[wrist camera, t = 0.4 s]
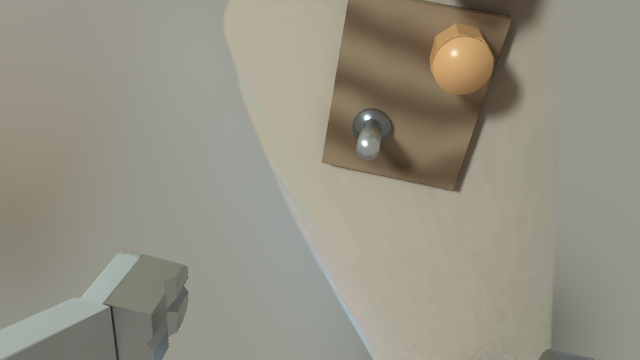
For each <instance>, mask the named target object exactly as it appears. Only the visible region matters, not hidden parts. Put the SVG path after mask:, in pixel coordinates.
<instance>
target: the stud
mask: <svg viewBox="0 0 640 360" xmlns="http://www.w3.org/2000/svg"><path fill="white" fill-rule="evenodd" d="M352 131H353V134H354V136H355V138H356V139H357V140H358V142H357V146H356V153H357V155H358V156H359V157H360V158H361V159H363V160H367V161H369V160H373V159H375V158H376V157H377V156H378V154H379V149H380V144H382V143H384V142H385V141H386V140H387V139H388V138H389V136H390V133H391V121H390V119H389V117H388V116H387V115H386V114H385V113H384V112H383V111H381V110H378V109H373V108H370V109H365V110H363V111H361V112H359V113H358V114H357V115H356V117H355V118H354V121H353V125H352Z"/></svg>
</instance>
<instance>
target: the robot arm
mask: <svg viewBox="0 0 640 360" xmlns="http://www.w3.org/2000/svg"><path fill="white" fill-rule="evenodd" d="M187 279H188V267H187V266H185V265H182V264H179V263H175V262H171V261H167V260H163V259H159V258H155V257H151V256H147V255H142V254H138V253H134V252H130V251H127V250H124V251H122V252H120V253H118V254H117V255H116V256H115V258H114V259H113V260H112V261H111V262H110V263H109V265H108V266H107V267H106V268H105V269H104V271H103V272H102V273H101V274H100V275H99V277H98V278H97V279H96V280H95V281H94V283H93V284H92V285H91V286H90V287H89V288H88V290H87V291H86V292H85V293H84V294H83V296H82V297H81V298H80V299H78V298H71V299H69V300H67V301H65V302H62V303H60V304H58V305H56V306H53V307H52V308H49V309H47V310H45V311H42V312H40V313H38V314H35V315H33V316H31V317H29V318H27V319H24V320H22V321H20V322H18V323H16V324H14V325H11V326H9V327H6V328H4V329H2V330H0V360H162V358H163V357H164V355H165V353H166V351H167V349H168V347H169V346H168V337H169V336H171V335H173V334H174V333H176V332H177V331H178V329H179V327H180V325H181V324H182V322H183V318H184V316H185V313H186V310H187V304H188V291H187V290H186V288H185V287H184V284H185V283H186V281H187ZM539 360H598V359H593V358H589V357H584V356H580V355H575V354H571V353H566V352H562V351H557V350H552V349H547V350H546V351H544V352H543V353H542V355H541V357H540V358H539Z"/></svg>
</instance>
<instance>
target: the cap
mask: <svg viewBox="0 0 640 360" xmlns="http://www.w3.org/2000/svg"><path fill="white" fill-rule="evenodd" d="M494 59H495V58H494V56H493V54H492V52H491V50H490V48H489V46H488V44H487V42H486V41H485V39H484V37H483V35H482V34H481V32H480V30H479V28H478V27H473V26H467V25H462V24H456V23H455V24H454V25H452V26H450V27H449V28H447V29H446V30H444V31H443V32H441V33H440V34H438V35H436V36H435V39H434V43H433V47H432V51H431V54H430V69H431V72H432V73H433V75H434V77H435V80H436V82H437V83H438V85H439V86H440V87H441V88H442V89H444V90H445V91H447V92H449V93H452V94H457V95H463V94H469V93H472V92H474V91H476V90H478V89H480V88H481V87H482V86H483V85H484V84H485V83H486V82H487V81H488V79H489V78H490V76H491V73H492V70H493V62H494Z"/></svg>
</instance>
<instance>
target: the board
mask: <svg viewBox="0 0 640 360" xmlns="http://www.w3.org/2000/svg"><path fill="white" fill-rule="evenodd" d="M511 20H512V19H511V18H510V16H506V15H501V14H495V13H490V12H484V11H479V10H473V9H468V8H462V7H456V6H451V5H445V4H440V3H434V2H429V1H423V0H348V5H347V11H346V18H345V24H344V30H343V36H342V42H341V48H340V54H339V60H338V67H337V73H336V79H335V85H334V91H333V97H332V103H331V109H330V116H329V122H328V128H327V134H326V140H325V146H324V152H323V158H322V163H326V164H331V165H335V166H340V167H345V168H350V169H355V170H359V171H364V172H369V173H374V174H379V175H383V176H388V177H393V178H398V179H403V180H407V181H412V182H417V183H422V184H427V185H431V186H436V187H441V188H446V189H451V190H453V189H454V186H455V183H456V180H457V177H458V174H459V171H460V168H461V165H462V163H463V160H464V157H465V154H466V151H467V148H468V145H469V142H470V139H471V136H472V134H473V131H474V128H475V125H476V122H477V119H478V116H479V113H480V110H481V107H482V105H483V102H484V99H485V96H486V93H487V90H488V87H489V84H490V81H491V78H492V76H493V73H494V70H495V67H496V64H497V61H498V58H499V55H500V52H501V49H502V47H503V44H504V41H505V38H506V35H507V32H508V29H509V26H510V23H511ZM455 23H456V24H462V25H467V26H473V27H478V28H479V30H480V32H481V34H482V35H483V37H484V39H485V41H486V42H487V44H488V46H489V48H490V50H491V52H492V54H493V56H494V58H495V59H494V62H493V70H492V73H491V76H490V78H489V79H488V81H487V82H486V83H485V84H484V85H483V86H482V87H481V88H480V89H478V90H476V91H474V92H472V93H469V94H463V95H457V94H452V93H449V92H447V91H445V90H444V89H442V88H441V87H440V86H439V85H438V83H437V82H436V80H435V77H434V75H433V73H432V72H431V69H430V54H431V51H432V47H433V43H434V39H435V36H436V35H438V34H440V33H441V32H443V31H444V30H446V29H447V28H449V27H450V26H452V25H454V24H455ZM370 108H373V109H378V110H381V111H383V112H384V113H385V114H386V115H387V116H388V117H389V119H390V121H391V133H390V136H389V138H388V139H387V140H386V141H385V142H384V143H382V144H380V149H379V154H378V156H377V157H376V158H375V159H373V160H369V161H367V160H363V159H361V158H360V157H359V156H358V155H357V153H356V146H357V142H358V140H357V139H356V138H355V136H354V134H353V131H352V125H353V121H354V118H355V117H356V115H357V114H358V113H359V112H361V111H363V110H365V109H370Z"/></svg>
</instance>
